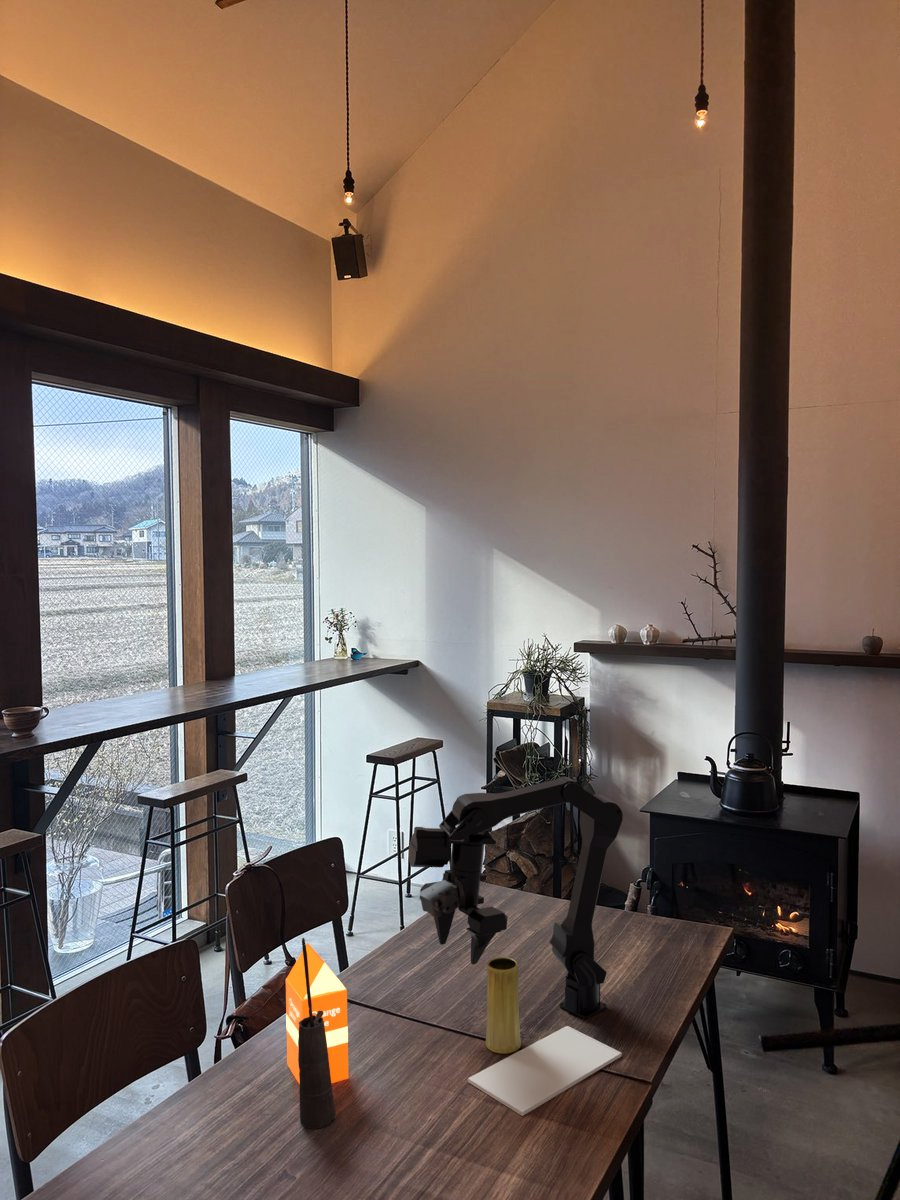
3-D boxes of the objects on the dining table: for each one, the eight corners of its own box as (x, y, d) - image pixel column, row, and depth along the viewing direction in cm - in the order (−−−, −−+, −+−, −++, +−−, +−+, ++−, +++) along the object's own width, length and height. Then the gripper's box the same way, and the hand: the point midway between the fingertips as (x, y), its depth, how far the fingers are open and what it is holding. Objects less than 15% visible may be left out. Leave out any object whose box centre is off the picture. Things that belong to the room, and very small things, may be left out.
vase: (524, 1038, 155) (524, 958, 154) (515, 1057, 149) (515, 973, 149) (491, 1033, 157) (490, 953, 156) (481, 1051, 151) (480, 968, 151)
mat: (567, 1029, 158) (567, 1025, 158) (621, 1056, 149) (621, 1052, 149) (467, 1082, 142) (467, 1078, 142) (522, 1116, 133) (522, 1112, 133)
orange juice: (303, 1091, 140) (300, 966, 139) (286, 1064, 148) (284, 946, 147) (349, 1078, 143) (347, 956, 143) (331, 1052, 151) (329, 936, 151)
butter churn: (321, 1088, 141) (318, 914, 140) (364, 1111, 135) (361, 929, 134) (276, 1116, 134) (272, 933, 133) (319, 1142, 128) (315, 950, 127)
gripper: (399, 856, 161) (391, 941, 162) (462, 889, 147) (453, 983, 147) (448, 850, 168) (440, 932, 168) (513, 881, 153) (504, 971, 153)
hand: (457, 953), depth 159 cm, fingers open, 9 cm apart
